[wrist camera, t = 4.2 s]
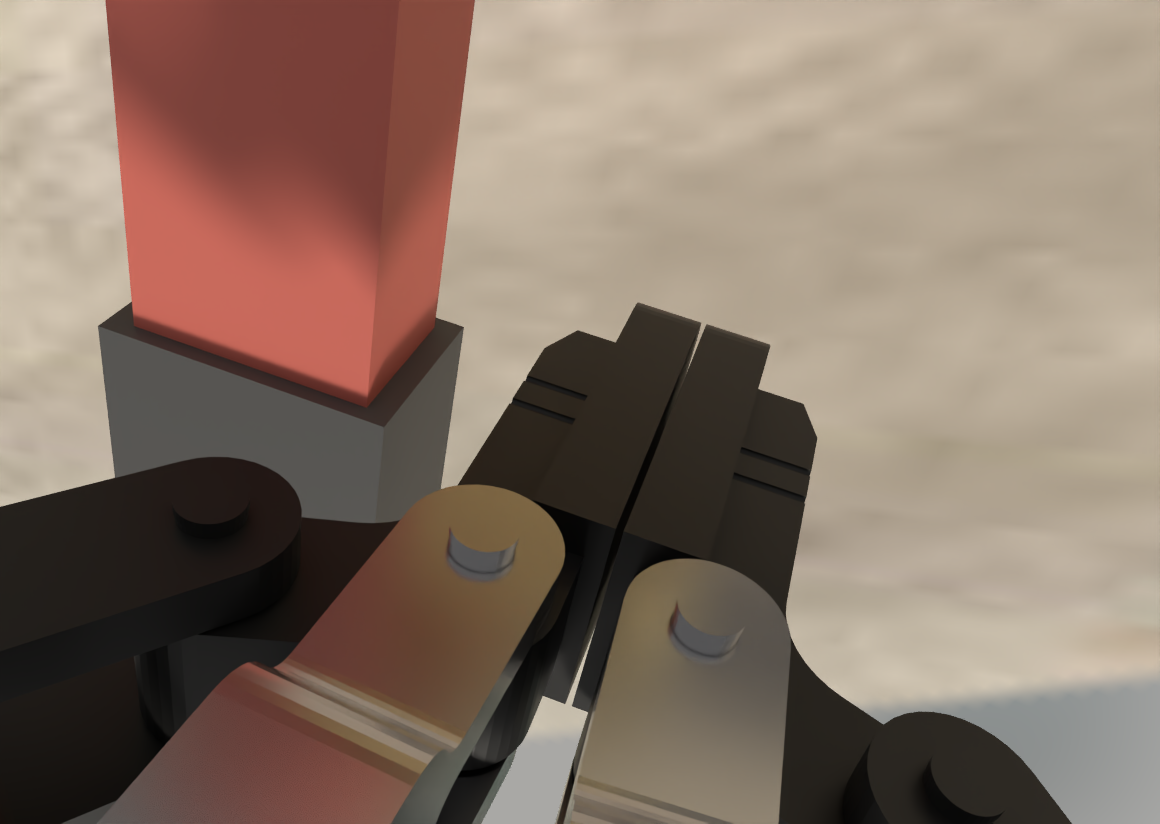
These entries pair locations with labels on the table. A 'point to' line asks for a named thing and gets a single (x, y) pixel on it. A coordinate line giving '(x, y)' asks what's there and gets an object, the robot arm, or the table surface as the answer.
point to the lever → (288, 242)
